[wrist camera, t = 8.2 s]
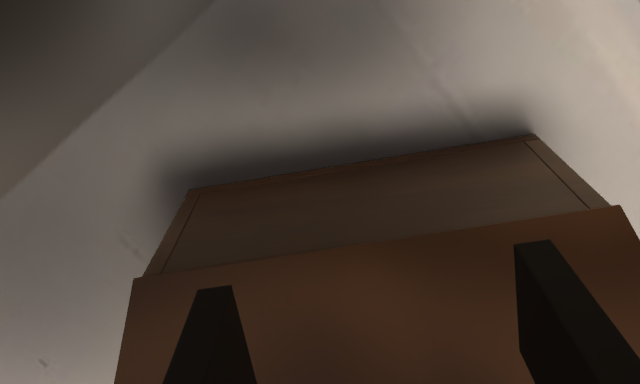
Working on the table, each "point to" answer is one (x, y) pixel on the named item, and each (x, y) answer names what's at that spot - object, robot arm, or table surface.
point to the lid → (390, 304)
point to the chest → (371, 203)
